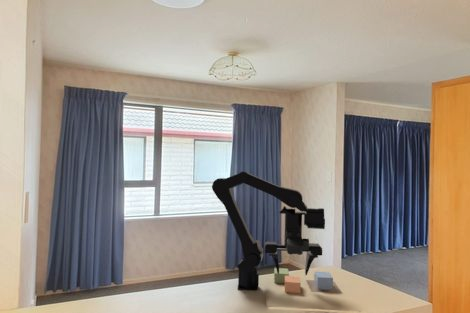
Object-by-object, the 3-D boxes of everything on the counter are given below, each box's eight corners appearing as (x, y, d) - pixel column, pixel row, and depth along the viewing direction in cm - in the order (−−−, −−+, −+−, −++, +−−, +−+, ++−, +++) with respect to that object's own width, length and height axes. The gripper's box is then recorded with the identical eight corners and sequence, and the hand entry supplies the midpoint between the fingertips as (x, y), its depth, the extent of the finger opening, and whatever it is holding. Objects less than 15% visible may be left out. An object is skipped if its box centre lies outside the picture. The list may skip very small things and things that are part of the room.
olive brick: (274, 284, 122) (274, 273, 122) (274, 278, 129) (274, 267, 129) (288, 285, 121) (288, 274, 121) (287, 279, 128) (287, 268, 128)
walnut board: (311, 293, 113) (311, 291, 113) (306, 281, 125) (306, 280, 125) (342, 294, 113) (342, 293, 113) (334, 283, 125) (334, 281, 125)
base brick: (317, 289, 116) (317, 277, 116) (314, 282, 123) (314, 271, 123) (332, 290, 115) (333, 277, 116) (328, 283, 122) (328, 271, 123)
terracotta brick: (284, 294, 113) (284, 281, 113) (284, 287, 119) (284, 275, 120) (300, 295, 112) (300, 282, 112) (299, 288, 119) (299, 276, 119)
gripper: (266, 230, 109) (264, 280, 108) (326, 232, 108) (325, 283, 107) (265, 224, 120) (264, 270, 120) (319, 227, 119) (318, 272, 118)
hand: (292, 274), depth 116 cm, fingers open, 9 cm apart
